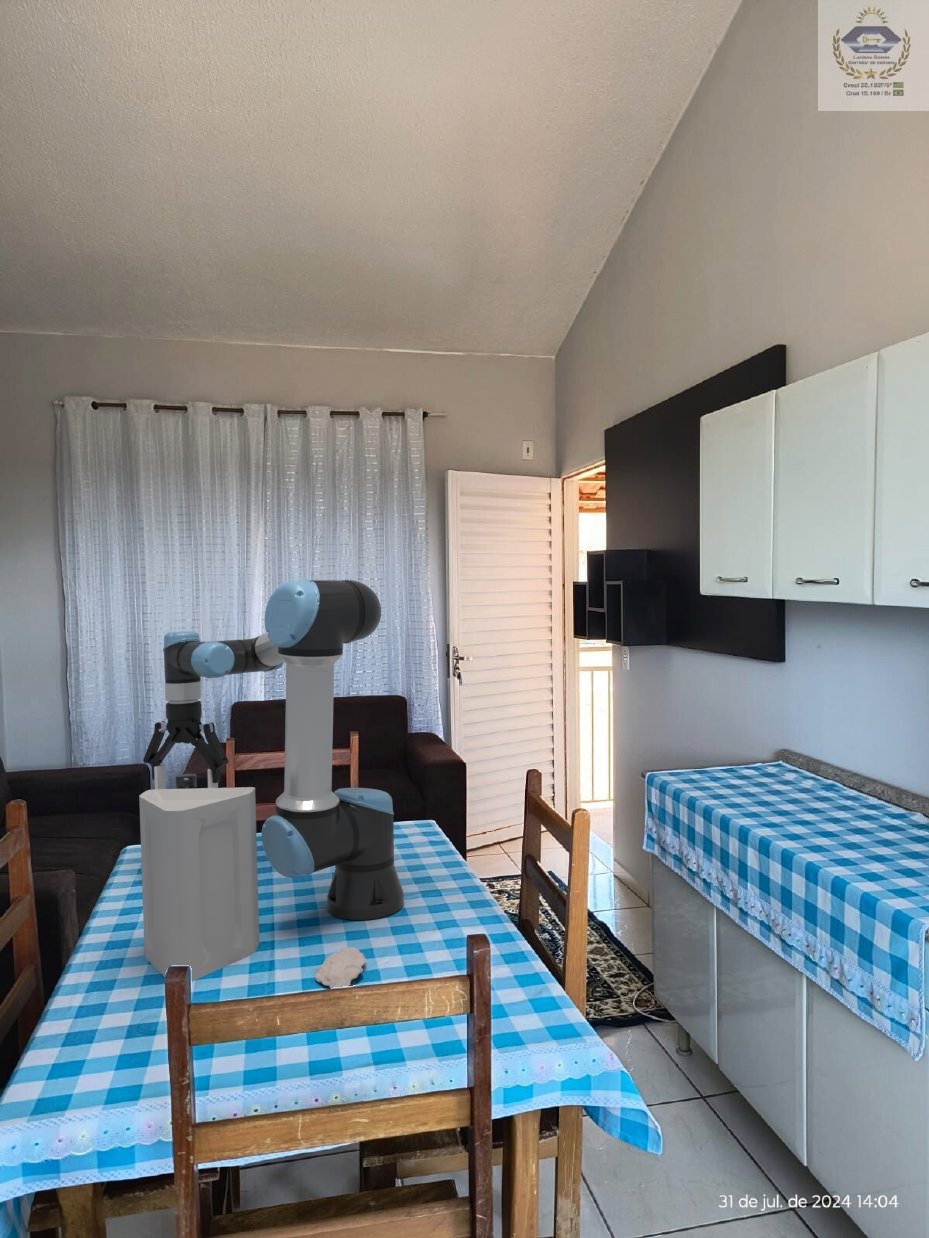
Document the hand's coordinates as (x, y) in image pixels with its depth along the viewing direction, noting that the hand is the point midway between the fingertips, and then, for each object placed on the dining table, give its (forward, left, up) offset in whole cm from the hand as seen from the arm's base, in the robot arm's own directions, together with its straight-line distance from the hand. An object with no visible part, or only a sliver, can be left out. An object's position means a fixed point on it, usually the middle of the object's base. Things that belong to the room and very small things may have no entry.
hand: (186, 795), depth 182 cm
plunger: (0, 0, -15) cm, 15 cm away
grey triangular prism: (-27, +38, -18) cm, 50 cm away
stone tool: (-53, +36, -18) cm, 67 cm away
